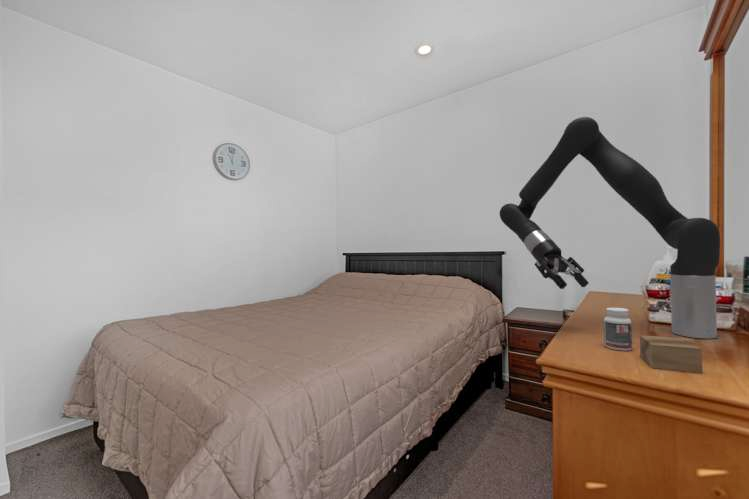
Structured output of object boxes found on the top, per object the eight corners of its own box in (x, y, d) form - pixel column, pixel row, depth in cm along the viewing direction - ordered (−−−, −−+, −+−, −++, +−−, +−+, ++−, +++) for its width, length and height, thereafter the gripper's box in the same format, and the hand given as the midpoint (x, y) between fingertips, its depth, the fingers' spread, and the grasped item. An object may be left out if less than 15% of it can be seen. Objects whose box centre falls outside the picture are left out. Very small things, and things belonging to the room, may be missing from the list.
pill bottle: (637, 351, 80) (636, 311, 80) (611, 350, 81) (610, 311, 81) (624, 344, 85) (623, 307, 85) (600, 344, 86) (599, 307, 86)
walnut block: (640, 356, 76) (639, 335, 76) (684, 360, 73) (684, 338, 73) (652, 368, 69) (651, 344, 69) (702, 373, 66) (701, 348, 66)
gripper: (530, 239, 100) (565, 279, 89) (565, 238, 104) (601, 276, 94) (518, 256, 105) (549, 296, 94) (551, 254, 109) (584, 292, 99)
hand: (575, 286), depth 94 cm, fingers open, 8 cm apart
